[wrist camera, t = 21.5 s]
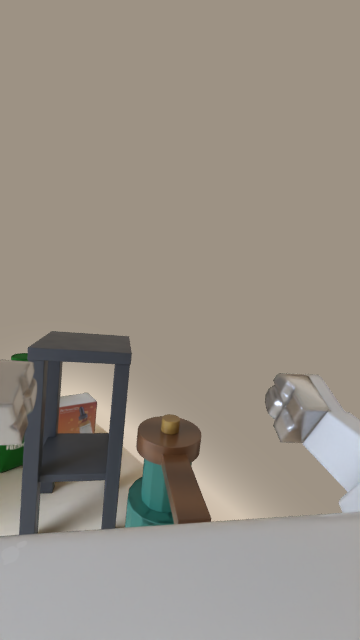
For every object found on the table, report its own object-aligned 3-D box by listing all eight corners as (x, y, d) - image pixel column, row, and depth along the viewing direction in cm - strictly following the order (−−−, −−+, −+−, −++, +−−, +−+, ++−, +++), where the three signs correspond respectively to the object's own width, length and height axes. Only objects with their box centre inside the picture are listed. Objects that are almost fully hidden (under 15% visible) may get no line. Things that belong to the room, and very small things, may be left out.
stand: (114, 542, 39) (131, 353, 36) (17, 550, 36) (27, 347, 34) (116, 482, 50) (129, 336, 48) (42, 485, 48) (51, 331, 45)
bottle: (105, 612, 30) (118, 461, 29) (138, 551, 38) (150, 428, 36) (174, 648, 28) (193, 485, 26) (195, 575, 35) (211, 444, 34)
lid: (238, 530, 22) (243, 488, 21) (145, 538, 20) (149, 493, 20) (190, 431, 36) (193, 405, 36) (134, 431, 35) (137, 404, 34)
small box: (52, 461, 54) (56, 407, 53) (45, 446, 59) (48, 396, 58) (93, 450, 59) (97, 400, 58) (84, 437, 64) (87, 391, 63)
